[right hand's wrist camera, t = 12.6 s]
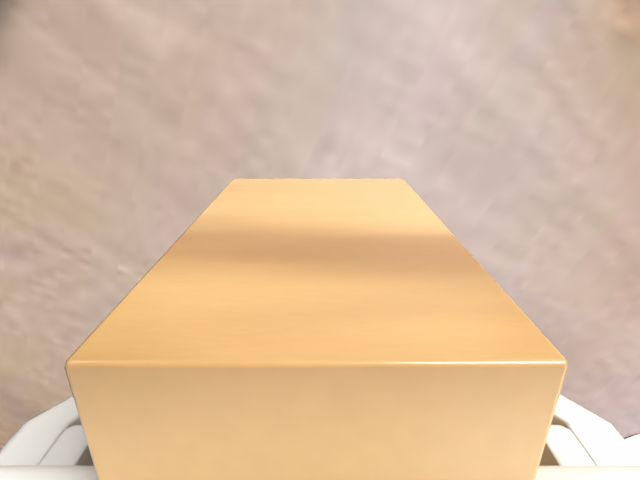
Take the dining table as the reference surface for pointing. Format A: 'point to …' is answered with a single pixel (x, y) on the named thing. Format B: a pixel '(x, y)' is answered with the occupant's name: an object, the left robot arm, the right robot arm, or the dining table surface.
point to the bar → (316, 349)
